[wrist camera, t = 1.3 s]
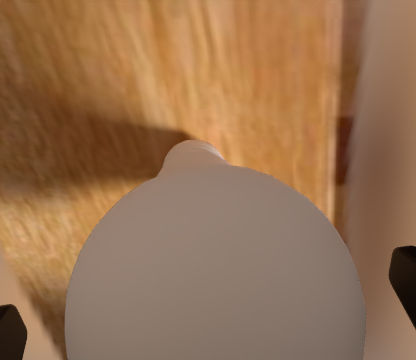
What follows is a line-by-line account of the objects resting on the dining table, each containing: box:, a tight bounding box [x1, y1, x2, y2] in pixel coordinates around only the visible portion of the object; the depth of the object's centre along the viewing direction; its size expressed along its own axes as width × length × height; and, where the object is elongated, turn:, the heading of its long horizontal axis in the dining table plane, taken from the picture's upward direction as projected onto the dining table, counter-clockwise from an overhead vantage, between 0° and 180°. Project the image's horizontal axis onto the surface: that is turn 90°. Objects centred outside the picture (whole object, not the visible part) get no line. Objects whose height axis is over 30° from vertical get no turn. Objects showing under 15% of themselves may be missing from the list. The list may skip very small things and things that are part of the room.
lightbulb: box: [65, 139, 366, 360], centre depth 10 cm, size 6×6×11 cm
